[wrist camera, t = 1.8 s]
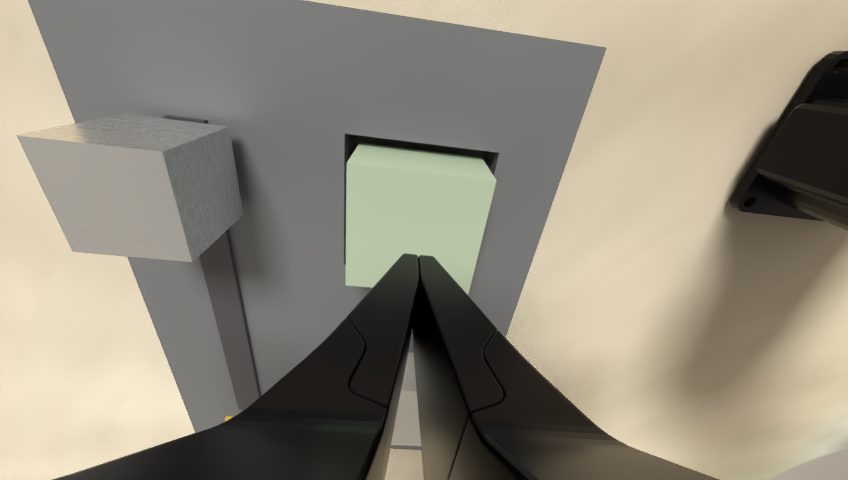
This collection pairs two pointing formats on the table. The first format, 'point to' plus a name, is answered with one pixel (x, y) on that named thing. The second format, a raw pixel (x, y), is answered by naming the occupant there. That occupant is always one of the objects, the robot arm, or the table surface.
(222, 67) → the control panel
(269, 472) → the robot arm
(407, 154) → the sage button
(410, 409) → the offwhite button
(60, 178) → the slider knob
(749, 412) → the table surface
